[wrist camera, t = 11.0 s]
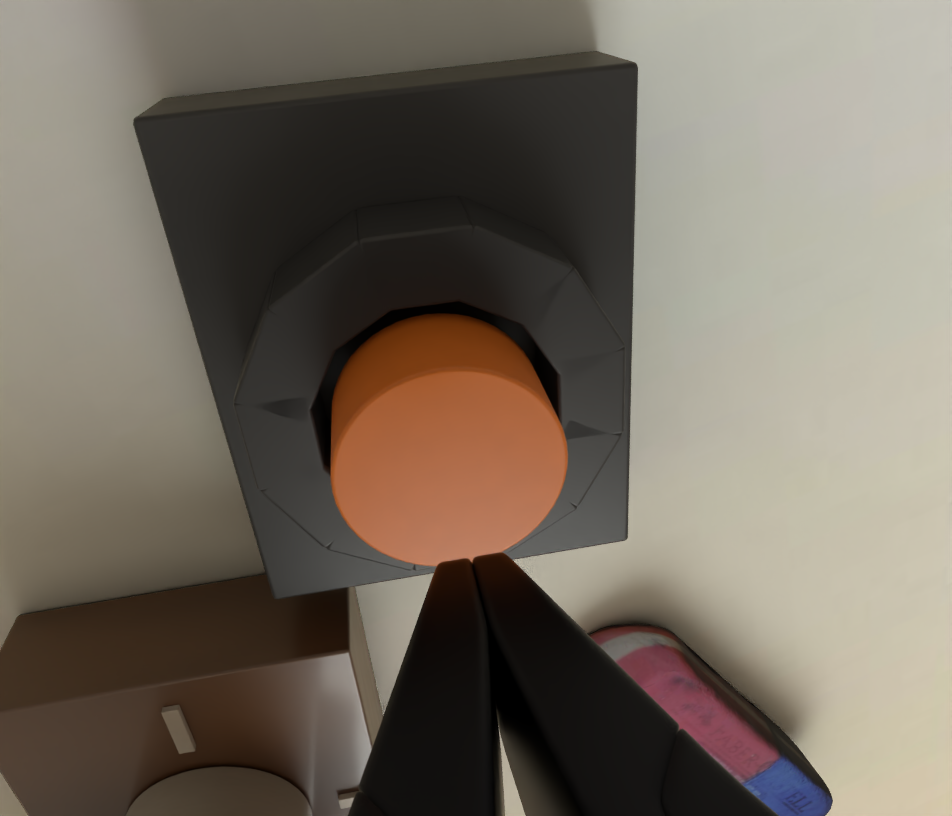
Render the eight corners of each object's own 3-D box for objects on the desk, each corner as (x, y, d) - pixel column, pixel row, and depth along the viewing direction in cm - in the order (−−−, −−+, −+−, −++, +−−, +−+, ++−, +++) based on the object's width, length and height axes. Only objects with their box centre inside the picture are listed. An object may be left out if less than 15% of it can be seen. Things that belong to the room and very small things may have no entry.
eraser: (527, 674, 22) (539, 725, 21) (639, 595, 21) (660, 642, 20) (723, 823, 27) (745, 873, 26) (821, 764, 26) (849, 812, 25)
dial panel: (410, 797, 24) (419, 901, 21) (132, 852, 23) (104, 967, 21) (361, 557, 19) (364, 653, 16) (3, 616, 18) (-55, 727, 16)
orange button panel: (600, 485, 19) (657, 597, 16) (279, 538, 18) (266, 667, 15) (599, 50, 14) (683, 74, 11) (159, 97, 13) (97, 140, 10)
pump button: (542, 476, 14) (571, 548, 13) (350, 508, 14) (352, 584, 12) (534, 297, 12) (565, 350, 11) (313, 328, 12) (308, 388, 10)
